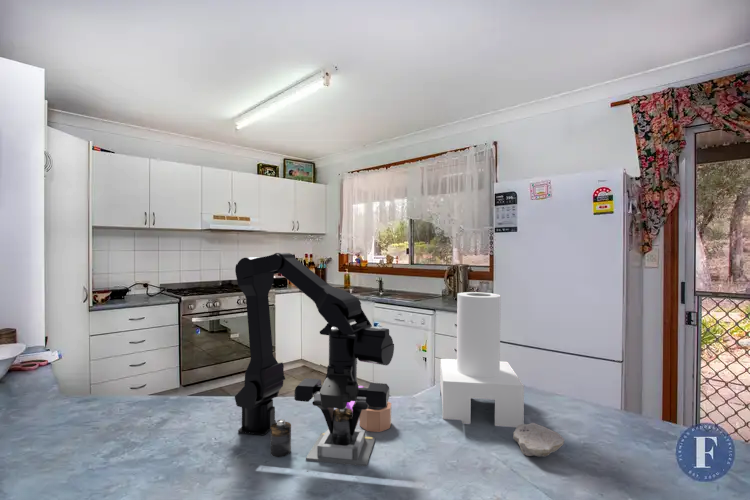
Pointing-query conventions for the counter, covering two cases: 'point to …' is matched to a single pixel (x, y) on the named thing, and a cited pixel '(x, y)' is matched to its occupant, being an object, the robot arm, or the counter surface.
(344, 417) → the cell
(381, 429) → the cup
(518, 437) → the fossil
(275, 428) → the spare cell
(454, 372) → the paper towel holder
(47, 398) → the counter surface
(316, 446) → the cradle
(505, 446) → the counter surface
